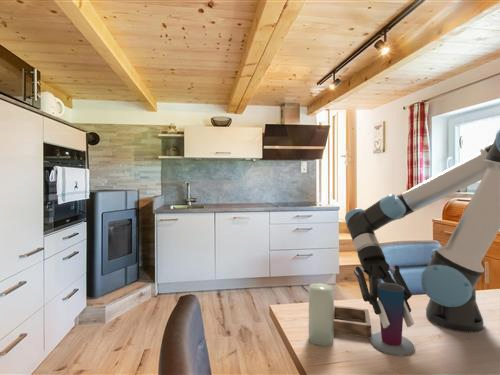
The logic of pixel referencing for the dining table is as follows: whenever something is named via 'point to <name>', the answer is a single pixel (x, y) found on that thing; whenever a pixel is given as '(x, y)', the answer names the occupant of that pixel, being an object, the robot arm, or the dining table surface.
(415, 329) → the dining table surface
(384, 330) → the cup
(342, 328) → the wooden tray box
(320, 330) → the pillar candle
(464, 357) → the dining table surface
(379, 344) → the felt pad
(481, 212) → the robot arm
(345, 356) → the dining table surface
